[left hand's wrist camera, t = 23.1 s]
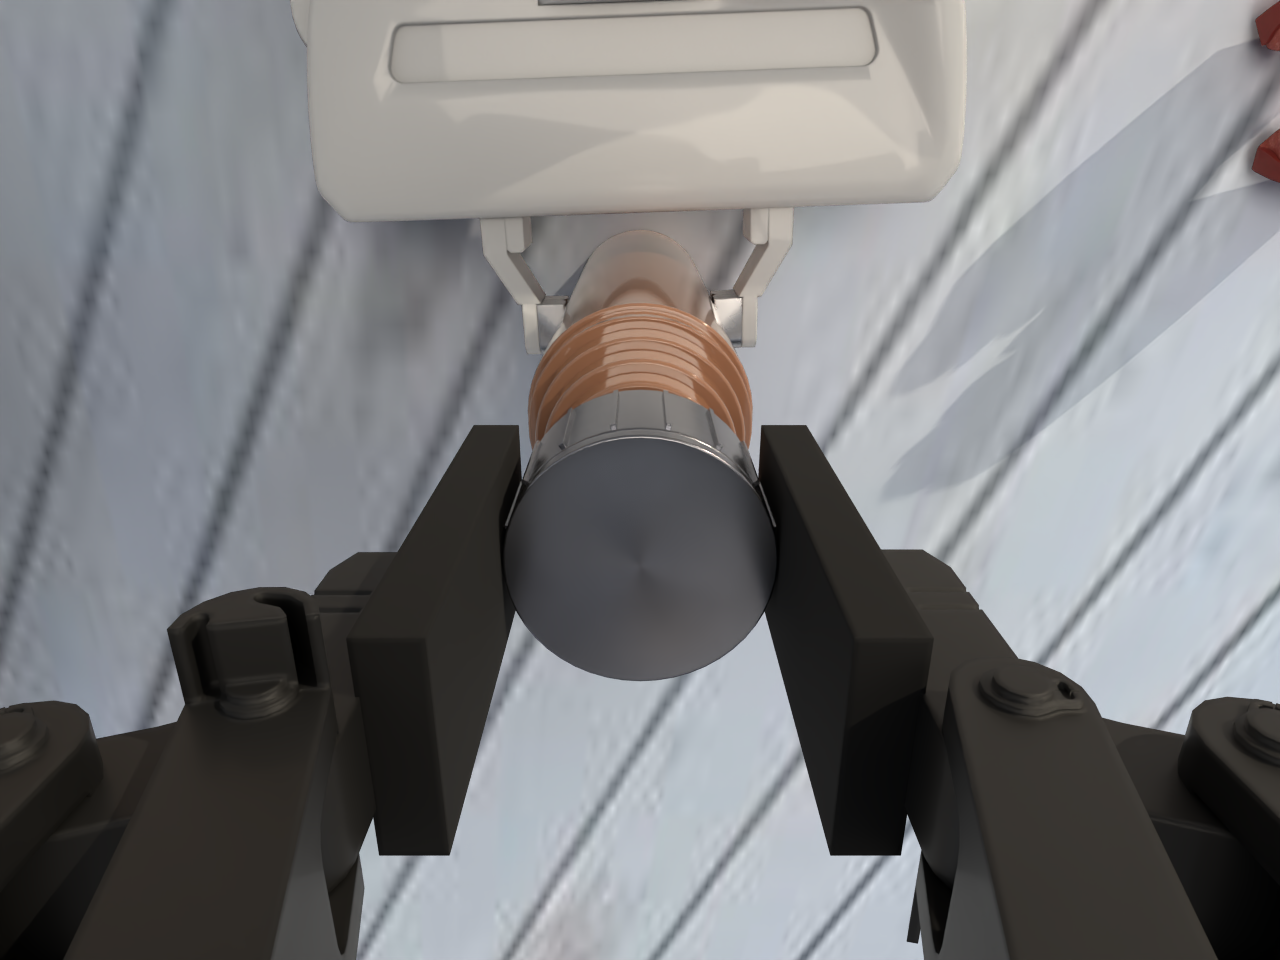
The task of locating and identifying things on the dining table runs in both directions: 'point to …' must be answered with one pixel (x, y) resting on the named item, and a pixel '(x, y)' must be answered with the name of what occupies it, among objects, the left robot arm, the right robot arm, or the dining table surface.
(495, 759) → the dining table surface
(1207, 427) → the dining table surface
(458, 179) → the right robot arm
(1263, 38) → the dental model
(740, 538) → the cap
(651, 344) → the bottle
